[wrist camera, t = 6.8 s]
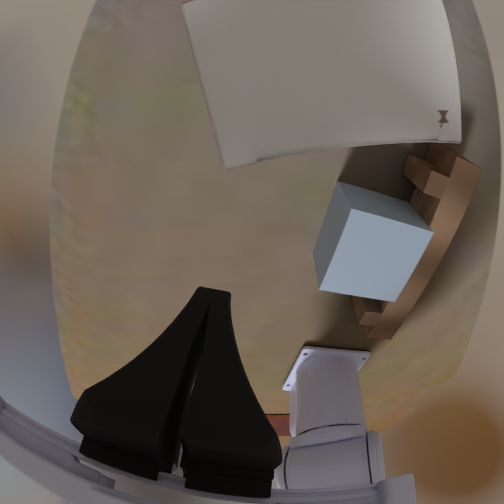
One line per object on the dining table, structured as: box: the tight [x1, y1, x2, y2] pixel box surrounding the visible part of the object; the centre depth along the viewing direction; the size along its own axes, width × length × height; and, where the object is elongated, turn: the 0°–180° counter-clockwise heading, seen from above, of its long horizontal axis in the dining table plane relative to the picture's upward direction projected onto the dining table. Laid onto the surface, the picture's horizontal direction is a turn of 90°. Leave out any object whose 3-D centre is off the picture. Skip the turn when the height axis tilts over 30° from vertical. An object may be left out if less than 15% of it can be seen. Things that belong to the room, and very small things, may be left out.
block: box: [313, 181, 434, 302], centre depth 19 cm, size 6×6×4 cm
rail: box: [351, 142, 482, 339], centre depth 19 cm, size 16×4×4 cm, turn 171°
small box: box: [181, 0, 461, 170], centre depth 10 cm, size 8×6×10 cm
